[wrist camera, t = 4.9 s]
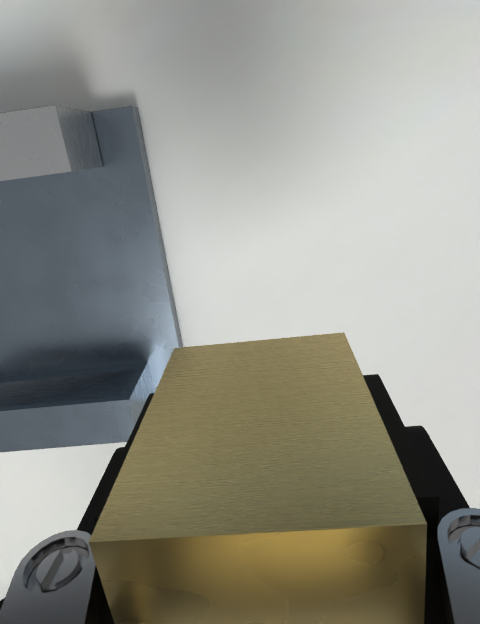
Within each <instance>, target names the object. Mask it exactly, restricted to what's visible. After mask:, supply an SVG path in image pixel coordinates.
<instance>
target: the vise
mask: <svg viewBox="0 0 480 624" xmlns="http://www.w3.org/2000/svg"><path fill="white" fill-rule="evenodd" d="M91 115H92V120H93V124H94V128H95V133H96V137H97V142H98V146H99V151H100V155H101V160H102V164H103V167H98V168H91V169H85V170H79V171H72V172H65V173H57V174H50V175H42V176H35V177H27V178H20V179H12V180H5V181H0V452H9V451H21V450H33V449H46V448H58V447H70V446H82V445H94V444H106V443H118V442H128V439H129V437H130V435H131V433H132V431H133V428H134V426H135V424H136V422H137V420H138V417H139V415H140V413H141V411H142V409H143V407H144V404H145V402H146V400H147V398H148V396H149V394H150V393H155V391H156V388H157V386H158V384H159V382H160V379H161V377H162V375H163V373H164V370H165V368H166V366H167V363H168V361H169V359H170V357H171V354H172V352H173V350H174V348H182V347H183V345H182V340H181V335H180V330H179V324H178V319H177V314H176V308H175V303H174V298H173V293H172V287H171V282H170V277H169V271H168V266H167V261H166V256H165V250H164V245H163V240H162V234H161V229H160V224H159V219H158V213H157V208H156V203H155V197H154V192H153V187H152V182H151V176H150V171H149V166H148V160H147V155H146V150H145V145H144V139H143V134H142V129H141V124H140V118H139V113H138V108H137V107H133V106H130V107H123V108H116V109H109V110H102V111H95V112H91Z"/></svg>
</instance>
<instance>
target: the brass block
mask: <svg viewBox="0 0 480 624" xmlns="http://www.w3.org/2000/svg"><path fill="white" fill-rule="evenodd" d="M426 543H427V523H426V521H425V518H424V516H423V514H422V511H421V509H420V507H419V504H418V502H417V500H416V497H415V495H414V493H413V491H412V488H411V486H410V484H409V481H408V479H407V477H406V474H405V472H404V470H403V467H402V465H401V463H400V460H399V458H398V456H397V454H396V451H395V449H394V447H393V444H392V442H391V440H390V437H389V435H388V433H387V430H386V428H385V426H384V424H383V421H382V419H381V417H380V414H379V412H378V410H377V407H376V405H375V403H374V400H373V398H372V396H371V393H370V391H369V389H368V387H367V384H366V382H365V380H364V377H363V375H362V373H361V370H360V368H359V366H358V363H357V361H356V359H355V356H354V354H353V352H352V350H351V347H350V345H349V343H348V340H347V338H346V336H345V333H334V334H323V335H312V336H301V337H290V338H279V339H269V340H258V341H247V342H236V343H225V344H215V345H204V346H193V347H182V348H174V350H173V352H172V354H171V357H170V359H169V361H168V363H167V366H166V368H165V370H164V373H163V375H162V377H161V379H160V382H159V384H158V386H157V388H156V391H155V393H154V395H153V397H152V400H151V402H150V404H149V406H148V409H147V411H146V413H145V416H144V418H143V420H142V422H141V425H140V427H139V429H138V431H137V434H136V436H135V438H134V440H133V443H132V445H131V447H130V449H129V452H128V454H127V456H126V458H125V461H124V463H123V465H122V468H121V470H120V472H119V474H118V477H117V479H116V481H115V483H114V486H113V488H112V490H111V492H110V495H109V497H108V499H107V501H106V504H105V506H104V508H103V510H102V513H101V515H100V517H99V520H98V522H97V524H96V526H95V529H94V531H93V533H92V535H91V538H90V540H89V545H90V548H91V551H92V554H93V558H94V561H95V564H96V567H97V570H98V573H99V576H100V579H101V583H102V586H103V589H104V592H105V595H106V598H107V601H108V604H109V607H110V611H111V614H112V617H113V620H114V623H115V624H424V609H425V576H426Z"/></svg>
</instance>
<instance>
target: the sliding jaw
mask: <svg viewBox="0 0 480 624" xmlns="http://www.w3.org/2000/svg"><path fill="white" fill-rule="evenodd" d="M98 167H103V164H102V160H101V155H100V151H99V146H98V142H97V137H96V133H95V128H94V124H93V120H92V115H91V112H89V111H83V110H78V109H73V108H67V107H62V106H56V105H53V106H46V107H39V108H32V109H25V110H19V111H12V112H5V113H0V181H5V180H12V179H20V178H27V177H35V176H42V175H50V174H57V173H65V172H72V171H79V170H85V169H91V168H98Z"/></svg>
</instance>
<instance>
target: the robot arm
mask: <svg viewBox="0 0 480 624" xmlns="http://www.w3.org/2000/svg"><path fill="white" fill-rule="evenodd" d="M363 377H364V380H365V382H366V384H367V387H368V389H369V391H370V393H371V396H372V398H373V400H374V403H375V405H376V407H377V410H378V412H379V414H380V417H381V419H382V421H383V424H384V426H385V428H386V430H387V433H388V435H389V437H390V440H391V442H392V444H393V447H394V449H395V451H396V454H397V456H398V458H399V460H400V463H401V465H402V467H403V470H404V472H405V474H406V477H407V479H408V481H409V484H410V486H411V488H412V491H413V493H414V495H415V497H416V500H417V502H418V504H419V507H420V509H421V511H422V514H423V516H424V518H425V521H426V523H427V543H426V576H425V609H424V624H480V509H476V508H470V507H469V506H468V504H467V502H466V500H465V498H464V497H463V495H462V493H461V491H460V490H459V488H458V486H457V484H456V483H455V481H454V479H453V477H452V476H451V474H450V472H449V470H448V469H447V467H446V465H445V463H444V462H443V460H442V458H441V456H440V454H439V453H438V451H437V449H436V447H435V446H434V444H433V442H432V440H431V439H430V437H429V435H428V433H427V432H426V430H425V429H424V427H422V426H409V427H405V426H404V424H403V422H402V420H401V418H400V416H399V414H398V412H397V410H396V408H395V406H394V404H393V402H392V400H391V398H390V396H389V394H388V392H387V390H386V388H385V386H384V384H383V382H382V380H381V378H380V376H379V375H378V374H375V375H363ZM153 395H154V393H150V394H149V396H148V398H147V400H146V402H145V404H144V407H143V409H142V411H141V413H140V415H139V417H138V420H137V422H136V424H135V426H134V428H133V431H132V433H131V435H130V437H129V439H128V442H127V444H126V446H125V447H121V448H118V449H116V451H115V452H114V454H113V456H112V458H111V460H110V462H109V464H108V466H107V469H106V471H105V473H104V475H103V477H102V479H101V481H100V483H99V485H98V487H97V489H96V491H95V493H94V495H93V497H92V500H91V502H90V504H89V506H88V508H87V510H86V512H85V514H84V516H83V518H82V520H81V522H80V524H79V526H78V529H77V530H73V531H65V532H61V533H58V534H55V535H53V536H51V537H49V538H47V539H45V540H43V541H42V542H40V543H39V544H38V545H36V546H35V547H34V548H33V549H31V550H30V551H29V552H28V554H27V555H26V556H25V557H24V558H23V559H22V560H21V562H20V564H19V566H18V567H17V569H16V571H15V573H14V576H13V579H12V581H11V584H10V586H9V589H8V592H7V594H6V597H5V598H4V599H2V600H1V601H0V624H115V623H114V620H113V617H112V614H111V611H110V607H109V604H108V601H107V598H106V595H105V592H104V589H103V586H102V583H101V579H100V576H99V573H98V570H97V567H96V564H95V561H94V558H93V554H92V551H91V548H90V545H89V540H90V538H91V535H92V533H93V531H94V529H95V526H96V524H97V522H98V520H99V517H100V515H101V513H102V510H103V508H104V506H105V504H106V501H107V499H108V497H109V495H110V492H111V490H112V488H113V486H114V483H115V481H116V479H117V477H118V474H119V472H120V470H121V468H122V465H123V463H124V461H125V458H126V456H127V454H128V452H129V449H130V447H131V445H132V443H133V440H134V438H135V436H136V434H137V431H138V429H139V427H140V425H141V422H142V420H143V418H144V416H145V413H146V411H147V409H148V406H149V404H150V402H151V400H152V397H153Z"/></svg>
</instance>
